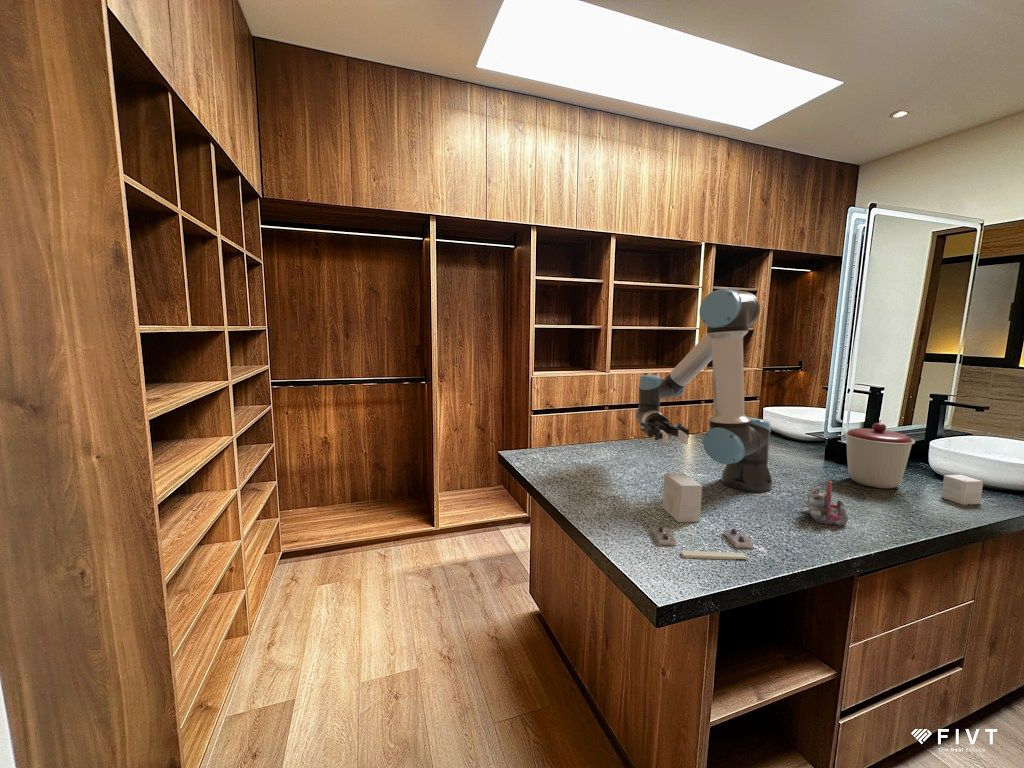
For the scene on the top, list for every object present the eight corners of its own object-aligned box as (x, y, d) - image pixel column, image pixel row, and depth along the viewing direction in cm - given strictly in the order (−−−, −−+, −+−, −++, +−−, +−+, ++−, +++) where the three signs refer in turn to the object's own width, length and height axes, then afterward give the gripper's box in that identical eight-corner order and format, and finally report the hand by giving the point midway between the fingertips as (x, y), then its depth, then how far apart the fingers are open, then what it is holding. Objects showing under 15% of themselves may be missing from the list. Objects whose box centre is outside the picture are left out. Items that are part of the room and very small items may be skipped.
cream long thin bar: (742, 555, 97) (742, 552, 97) (746, 559, 95) (747, 557, 95) (680, 553, 98) (680, 550, 98) (683, 557, 96) (683, 555, 96)
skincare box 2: (981, 504, 126) (984, 481, 125) (962, 505, 126) (965, 481, 125) (958, 496, 132) (961, 474, 131) (940, 497, 132) (943, 474, 131)
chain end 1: (667, 531, 109) (667, 525, 108) (676, 545, 102) (676, 538, 101) (651, 531, 109) (652, 524, 109) (659, 544, 102) (659, 537, 102)
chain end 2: (739, 534, 107) (739, 527, 107) (753, 548, 100) (753, 541, 100) (723, 533, 108) (723, 527, 107) (735, 547, 101) (736, 540, 100)
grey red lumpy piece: (861, 525, 107) (829, 483, 110) (817, 540, 113) (787, 500, 116) (856, 509, 117) (826, 471, 120) (815, 524, 122) (788, 488, 125)
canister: (905, 497, 131) (913, 431, 129) (834, 482, 145) (839, 422, 142) (912, 484, 143) (919, 423, 141) (846, 471, 157) (851, 415, 154)
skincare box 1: (701, 522, 114) (703, 485, 113) (678, 522, 114) (680, 485, 113) (682, 506, 125) (684, 472, 124) (661, 507, 124) (663, 472, 123)
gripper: (681, 433, 147) (707, 452, 124) (629, 432, 148) (645, 451, 125) (682, 412, 146) (708, 427, 123) (629, 411, 147) (646, 426, 124)
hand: (676, 439), depth 124 cm, fingers open, 5 cm apart
